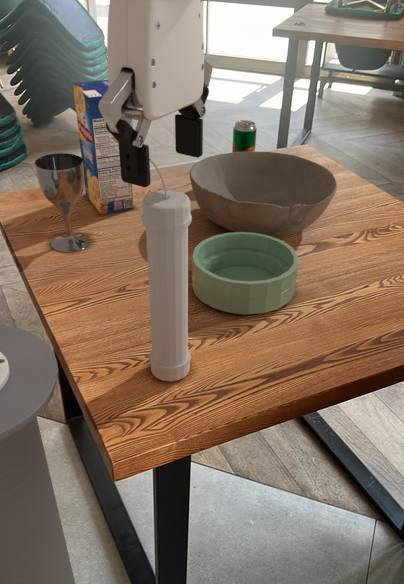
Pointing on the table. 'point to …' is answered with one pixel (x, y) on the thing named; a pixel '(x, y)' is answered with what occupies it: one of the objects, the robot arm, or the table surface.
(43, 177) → the wine glass
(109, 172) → the cereal box
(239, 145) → the soda can
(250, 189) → the bowl
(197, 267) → the green round dish
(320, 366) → the table surface
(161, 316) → the pipe
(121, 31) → the robot arm
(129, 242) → the table surface
